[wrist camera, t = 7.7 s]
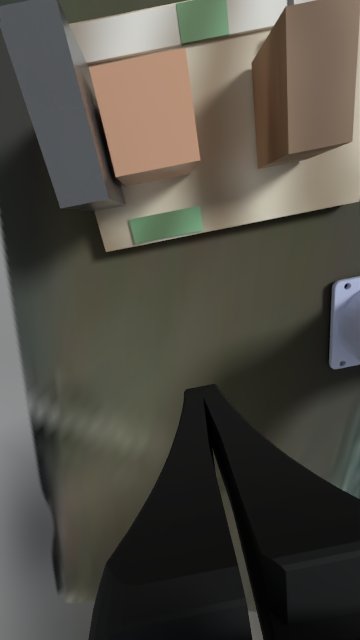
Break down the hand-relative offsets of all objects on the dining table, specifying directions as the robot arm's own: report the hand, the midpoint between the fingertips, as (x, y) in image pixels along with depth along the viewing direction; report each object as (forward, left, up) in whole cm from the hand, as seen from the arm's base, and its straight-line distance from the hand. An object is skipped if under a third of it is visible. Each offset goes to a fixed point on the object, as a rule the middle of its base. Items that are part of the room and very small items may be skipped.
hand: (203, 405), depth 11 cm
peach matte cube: (0, -12, -9) cm, 15 cm away
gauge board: (-4, -12, -10) cm, 16 cm away
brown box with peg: (-8, -12, -9) cm, 16 cm away
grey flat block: (+3, -12, -10) cm, 16 cm away
